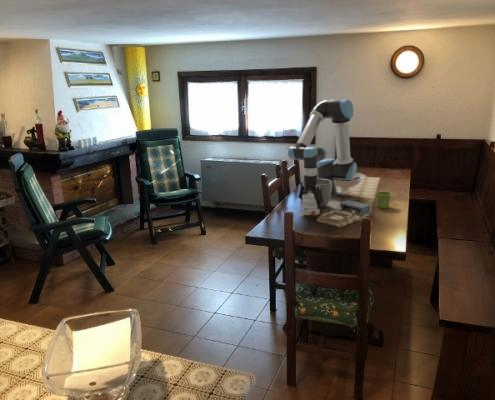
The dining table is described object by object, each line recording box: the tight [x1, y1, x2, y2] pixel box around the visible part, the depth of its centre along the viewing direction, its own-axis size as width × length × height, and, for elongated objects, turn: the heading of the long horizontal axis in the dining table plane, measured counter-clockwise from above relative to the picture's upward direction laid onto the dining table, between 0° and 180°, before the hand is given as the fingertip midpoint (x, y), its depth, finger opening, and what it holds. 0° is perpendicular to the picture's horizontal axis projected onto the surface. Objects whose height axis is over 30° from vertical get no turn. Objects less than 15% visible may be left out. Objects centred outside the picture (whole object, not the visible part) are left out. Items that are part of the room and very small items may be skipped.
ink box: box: [302, 194, 319, 216], centre depth 238 cm, size 9×5×12 cm, turn 71°
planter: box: [303, 179, 332, 209], centre depth 253 cm, size 17×17×16 cm
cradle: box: [316, 207, 371, 228], centre depth 232 cm, size 28×16×4 cm, turn 131°
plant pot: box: [375, 191, 393, 209], centre depth 248 cm, size 9×9×9 cm
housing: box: [339, 199, 371, 215], centre depth 238 cm, size 8×15×4 cm, turn 41°
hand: (310, 212), depth 240 cm, fingers closed on ink box, 9 cm apart
